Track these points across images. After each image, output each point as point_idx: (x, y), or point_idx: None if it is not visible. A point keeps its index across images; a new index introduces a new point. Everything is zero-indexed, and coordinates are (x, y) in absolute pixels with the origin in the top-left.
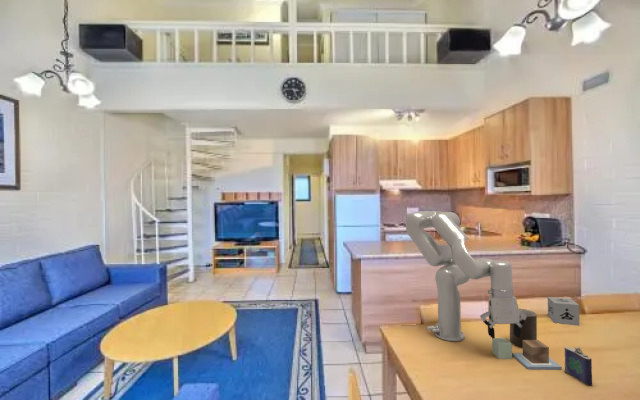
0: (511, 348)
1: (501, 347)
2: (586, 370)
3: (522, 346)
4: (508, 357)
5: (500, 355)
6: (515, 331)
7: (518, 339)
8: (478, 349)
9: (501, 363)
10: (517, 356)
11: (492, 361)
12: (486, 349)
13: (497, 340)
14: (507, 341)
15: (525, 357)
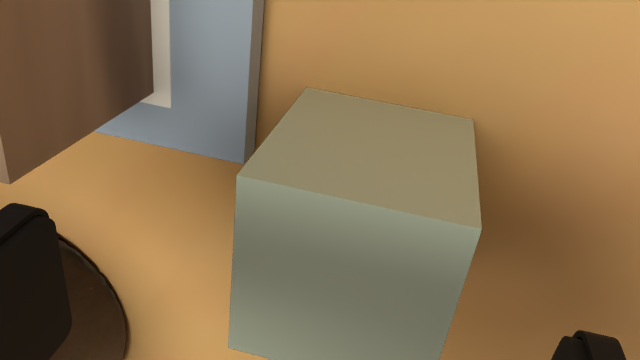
0: (269, 141)
1: (430, 181)
2: None
3: None
4: (345, 101)
5: (449, 132)
6: (3, 351)
7: None
8: (541, 344)
9: (533, 4)
10: (231, 80)
11: (618, 77)
12: None
13: (403, 322)
14: (258, 255)
15: (149, 32)
